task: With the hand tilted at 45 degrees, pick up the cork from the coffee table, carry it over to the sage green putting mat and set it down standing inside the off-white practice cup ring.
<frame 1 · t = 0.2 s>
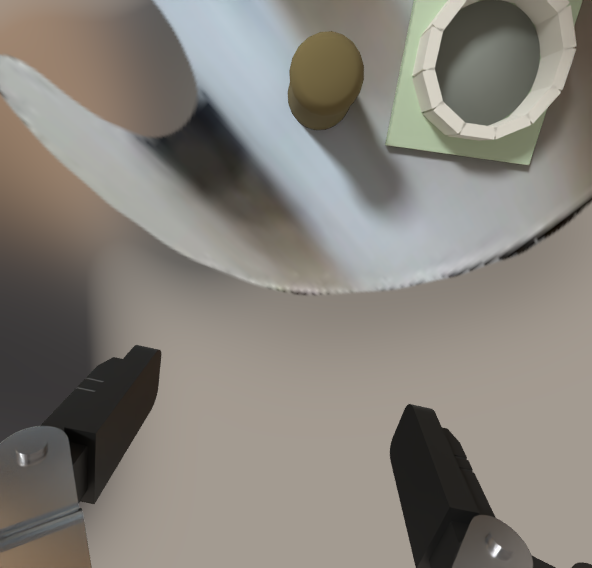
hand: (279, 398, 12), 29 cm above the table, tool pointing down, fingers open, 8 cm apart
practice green: (477, 69, 34), on the table
cork: (319, 95, 35), on the table
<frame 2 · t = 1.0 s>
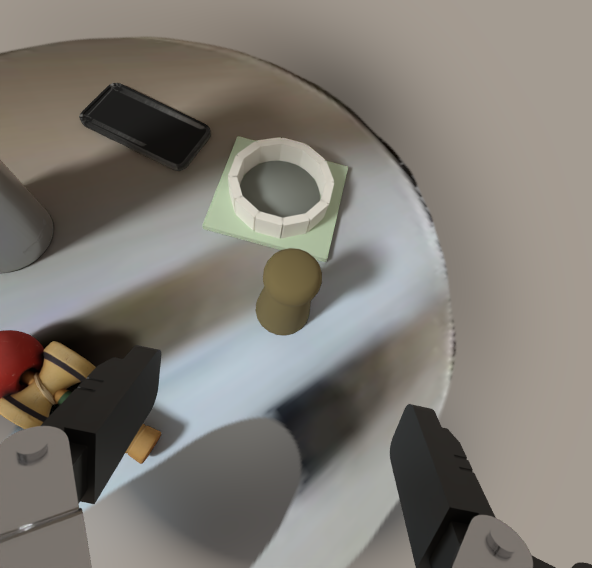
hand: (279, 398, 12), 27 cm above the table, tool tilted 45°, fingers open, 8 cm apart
phone: (148, 131, 48), on the table
kendama: (79, 399, 36), on the table
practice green: (279, 198, 46), on the table
cork: (282, 309, 41), on the table
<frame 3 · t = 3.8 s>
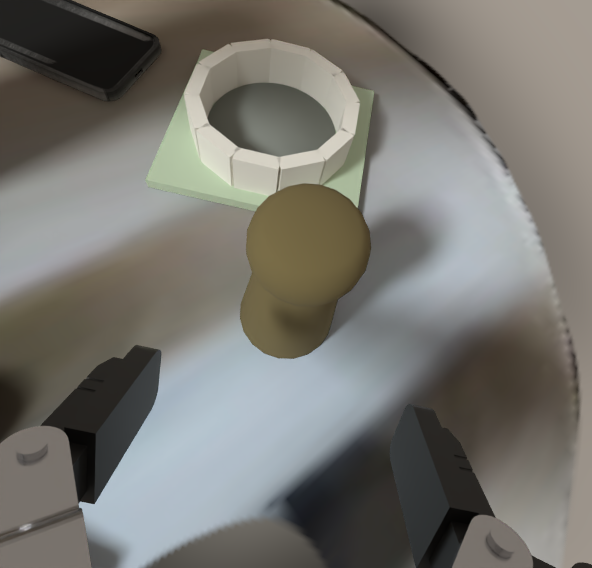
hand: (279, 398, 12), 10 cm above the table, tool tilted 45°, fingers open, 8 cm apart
phone: (63, 47, 31), on the table
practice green: (271, 138, 29), on the table
cork: (286, 313, 24), on the table
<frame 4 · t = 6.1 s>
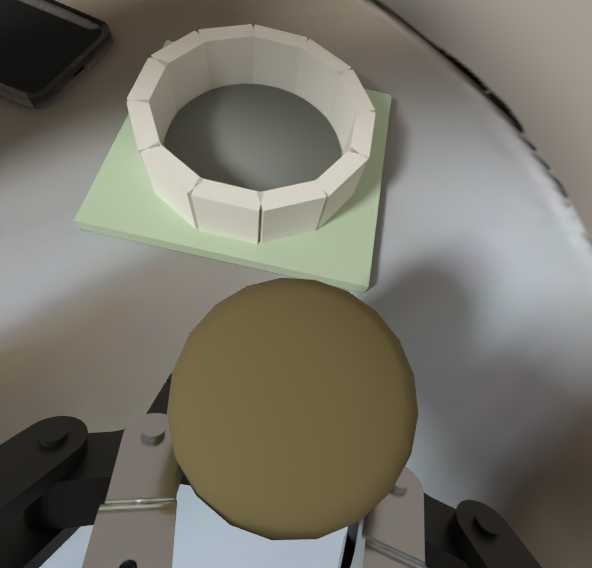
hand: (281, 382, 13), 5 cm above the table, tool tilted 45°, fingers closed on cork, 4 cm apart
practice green: (255, 158, 22), on the table
cork: (270, 417, 17), on the table, touching gripper
when the fingers open (7 cm above the table, at t = 11.4 s): cork drops 1 cm, resting on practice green.
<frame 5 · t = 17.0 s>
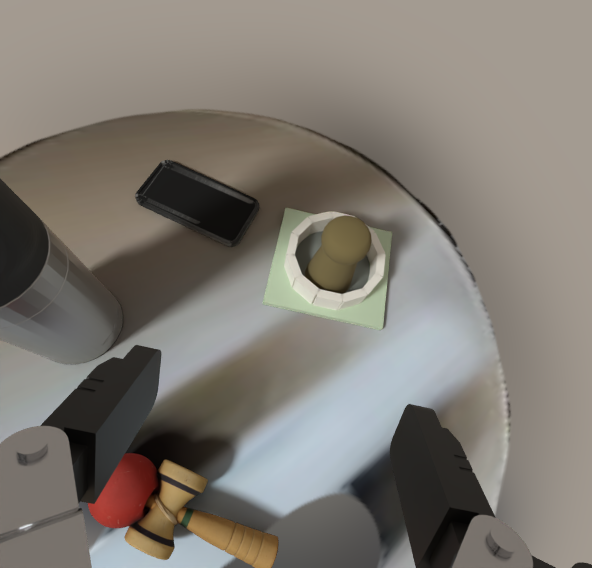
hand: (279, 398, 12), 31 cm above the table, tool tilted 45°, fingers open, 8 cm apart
phone: (199, 206, 50), on the table
kendama: (190, 509, 37), on the table
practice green: (330, 267, 48), on the table
cork: (328, 276, 47), point 1 cm above the table, touching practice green
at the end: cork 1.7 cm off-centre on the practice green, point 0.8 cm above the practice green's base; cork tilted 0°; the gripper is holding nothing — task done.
